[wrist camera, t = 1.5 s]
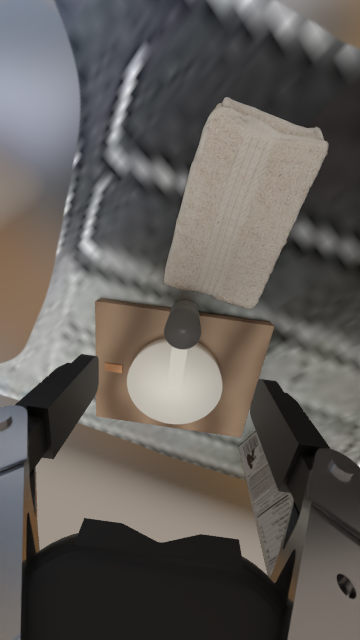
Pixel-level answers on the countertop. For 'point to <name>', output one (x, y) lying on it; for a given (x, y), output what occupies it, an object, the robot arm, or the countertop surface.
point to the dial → (176, 372)
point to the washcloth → (241, 202)
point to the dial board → (216, 335)
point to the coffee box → (265, 500)
